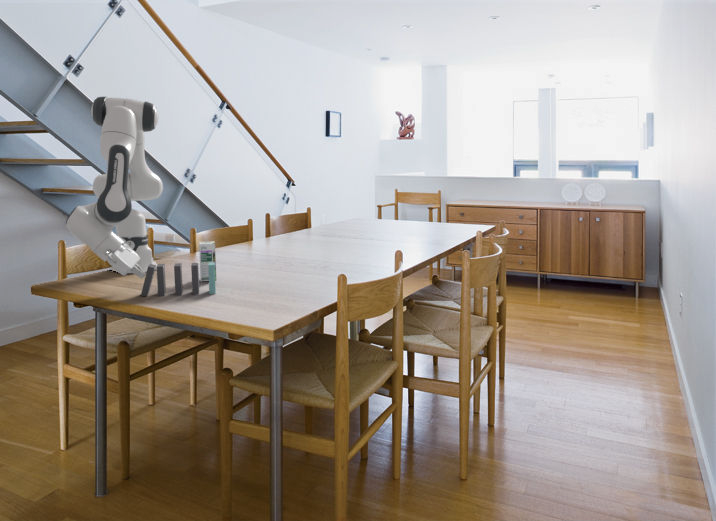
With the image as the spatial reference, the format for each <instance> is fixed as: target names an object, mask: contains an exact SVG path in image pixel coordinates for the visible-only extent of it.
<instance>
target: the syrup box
mask: <svg viewBox="0 0 716 521" xmlns="http://www.w3.org/2000/svg"><path fill="white" fill-rule="evenodd" d="M198 249H199V251H198V252H199V272H200V273H199V274H200V275H199V276H200V282H201V283H203V282H202V281H209V271H208V264H209V262H215V282H217V266H216V265H217V262H216V257H217V256H216V244H215V241H199V242H198Z"/></svg>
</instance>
